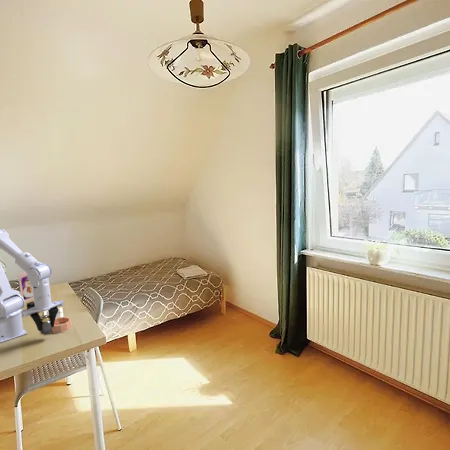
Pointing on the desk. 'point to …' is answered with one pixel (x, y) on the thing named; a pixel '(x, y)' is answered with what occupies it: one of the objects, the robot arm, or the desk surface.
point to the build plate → (30, 305)
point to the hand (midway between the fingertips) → (45, 328)
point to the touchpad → (59, 314)
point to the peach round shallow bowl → (61, 324)
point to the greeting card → (25, 287)
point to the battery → (45, 324)
